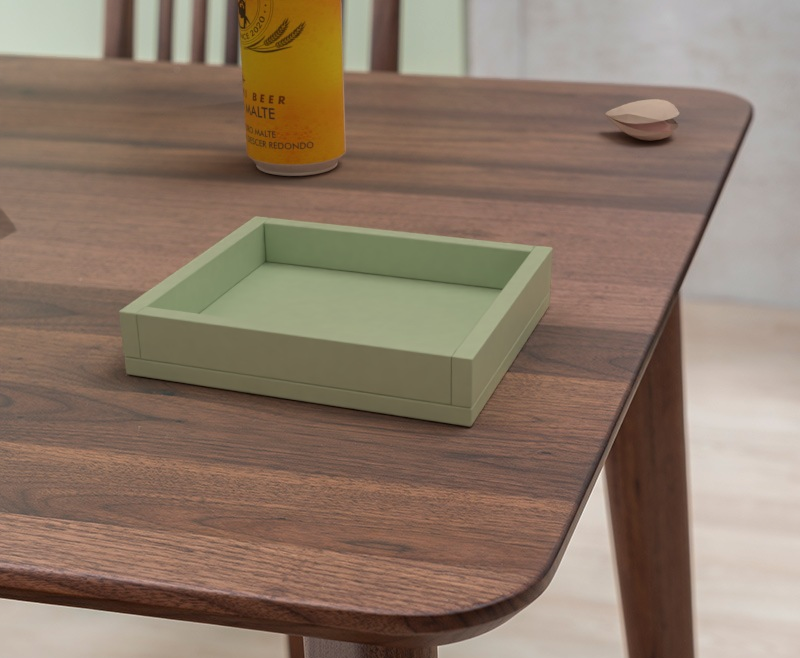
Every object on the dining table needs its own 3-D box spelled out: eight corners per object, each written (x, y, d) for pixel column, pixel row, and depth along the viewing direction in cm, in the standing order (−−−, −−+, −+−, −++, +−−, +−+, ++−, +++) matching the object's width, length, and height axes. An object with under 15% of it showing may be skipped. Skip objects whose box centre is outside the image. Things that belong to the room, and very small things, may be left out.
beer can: (233, 159, 79) (216, -95, 73) (322, 147, 82) (313, -101, 75) (269, 183, 74) (254, -87, 68) (362, 170, 77) (356, -92, 70)
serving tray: (125, 374, 51) (117, 310, 50) (258, 270, 62) (255, 215, 60) (471, 427, 46) (472, 359, 45) (550, 305, 57) (553, 247, 56)
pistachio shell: (660, 149, 81) (664, 110, 79) (590, 139, 83) (592, 100, 82) (686, 134, 84) (690, 96, 83) (618, 125, 86) (620, 88, 85)
